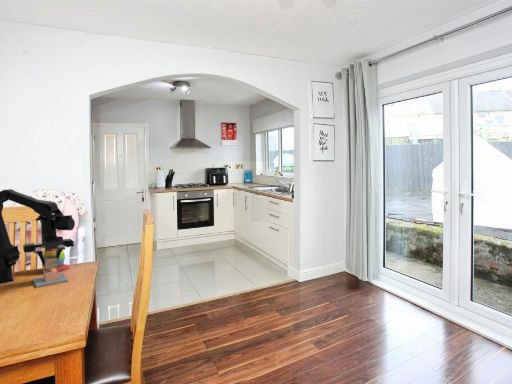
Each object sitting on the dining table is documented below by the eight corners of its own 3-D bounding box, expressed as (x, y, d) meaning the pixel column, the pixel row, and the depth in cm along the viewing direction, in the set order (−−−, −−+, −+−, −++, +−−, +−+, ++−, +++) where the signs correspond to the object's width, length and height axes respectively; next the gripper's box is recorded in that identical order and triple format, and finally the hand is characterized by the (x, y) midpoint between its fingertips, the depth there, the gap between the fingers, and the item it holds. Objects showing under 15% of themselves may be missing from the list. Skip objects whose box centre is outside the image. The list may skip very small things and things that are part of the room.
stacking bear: (71, 267, 163) (70, 233, 162) (57, 274, 153) (56, 238, 152) (52, 266, 164) (51, 233, 163) (37, 273, 154) (35, 237, 153)
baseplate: (33, 280, 145) (33, 278, 145) (63, 274, 152) (63, 273, 152) (36, 287, 136) (36, 286, 136) (68, 281, 143) (68, 279, 143)
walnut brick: (42, 266, 144) (42, 257, 144) (54, 264, 147) (53, 255, 147) (45, 269, 140) (45, 260, 140) (57, 267, 143) (57, 258, 143)
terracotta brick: (43, 278, 145) (43, 269, 144) (55, 276, 148) (54, 268, 147) (45, 282, 140) (45, 273, 140) (57, 279, 143) (57, 271, 143)
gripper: (25, 235, 130) (26, 272, 131) (76, 230, 142) (76, 264, 143) (22, 231, 138) (23, 266, 140) (70, 226, 151) (71, 258, 152)
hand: (49, 263), depth 143 cm, fingers closed on walnut brick, 5 cm apart
